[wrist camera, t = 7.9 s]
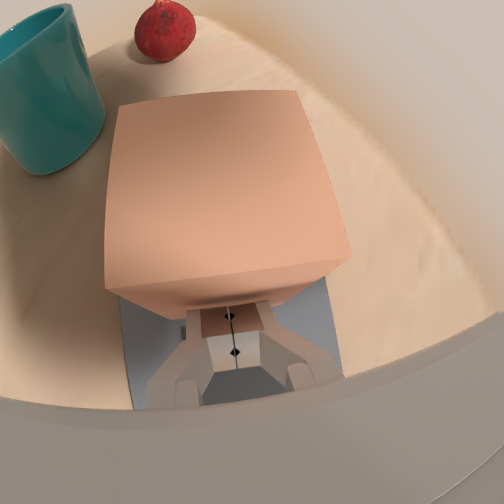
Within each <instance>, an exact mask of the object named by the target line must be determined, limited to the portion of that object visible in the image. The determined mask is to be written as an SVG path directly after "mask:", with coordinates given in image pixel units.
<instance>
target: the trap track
mask: <svg viewBox="0 0 504 504" xmlns="http://www.w3.org/2000/svg"><path fill="white" fill-rule="evenodd" d="M119 304H120V317H121V327H122V337H123V345H124V353H125V360H126V367H127V373H128V379H129V385H130V390H131V396H132V401H133V406H134V410H142V409H145V406H146V392H147V382H148V381H149V379H150V378H151V377H152V376H153V375H154V373H155V372H156V371H157V370H158V369H159V368H160V366H161V365H162V364H163V363H164V362H165V360H166V359H167V358H168V357H169V356H170V355H171V353H172V352H173V351H174V350H175V349H176V347H177V346H178V345H179V344H180V343H181V342H182V341H183V340H186V318H185V319H176V320H169V319H167V318H165V317H163V316H161V315H158V314H156V313H154V312H152V311H150V310H147V309H145V308H143V307H141V306H139V305H137V304H135V303H133V302H131V301H129V300H127V299H125V298H123V297H121V296H119ZM271 308H272V310H273V313H274V315H275V317H276V320H277V322H278V325H279V327H282V326H283V327H285V328H287V329H289V330H290V331H292V332H294V333H295V334H297V335H299V336H301V337H302V338H304V339H306V340H308V341H309V342H311V343H313V344H315V345H317V346H318V347H320V348H322V349H324V350H326V351H327V352H329V353H331V354H332V355H333V356H334V358H335V360H336V362H337V364H338V366H339V368H340V369H341V371H342V366H341V360H340V354H339V348H338V342H337V337H336V331H335V326H334V320H333V315H332V310H331V305H330V300H329V295H328V291H327V286H326V281H325V277H324V276H323V277H322V278H320V279H319V280H317V281H316V282H315V283H313V284H312V285H310V286H309V287H307V288H306V289H304V290H303V291H301V292H300V293H298V294H297V295H295V296H294V297H292V298H291V299H289V300H288V301H286V302H285V303H283V304H281V305H278V306H272V307H271ZM228 317H229V313H228ZM229 321H230V318H229ZM233 349H234V348H233ZM234 355H235V350H234ZM235 362H236V369H232V370H226V371H220V372H214V375H213V376H212V378H211V380H210V382H209V384H208V386H207V387H206V389H205V391H204V393H203V395H202V400H203V403H204V406H206V405H214V404H223V403H230V402H237V401H243V400H250V399H256V398H261V397H267V396H272V395H277V394H282V393H285V387H284V386H283V385H282V384H281V383H280V382H278V381H277V380H276V379H275V378H274V377H272V376H271V375H270V374H269V373H268V372H267V371H266V370H264V369H263V368H262V367H261V365H260V366H253V367H246V368H238V366H237V361H236V357H235Z"/></svg>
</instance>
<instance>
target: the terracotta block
mask: <svg viewBox="0 0 504 504" xmlns="http://www.w3.org/2000/svg"><path fill="white" fill-rule="evenodd" d="M350 257H352V255H351V251H350V247H349V243H348V240H347V236H346V232H345V229H344V225H343V222H342V218H341V215H340V211H339V208H338V205H337V201H336V198H335V195H334V192H333V189H332V186H331V182H330V179H329V176H328V173H327V170H326V167H325V165H324V162H323V159H322V156H321V153H320V150H319V148H318V145H317V142H316V139H315V137H314V134H313V131H312V129H311V126H310V124H309V121H308V119H307V116H306V114H305V111H304V109H303V106H302V104H301V101H300V99H299V97H298V94H297V92H296V91H289V90H246V91H224V92H210V93H199V94H189V95H181V96H173V97H166V98H159V99H153V100H147V101H142V102H136V103H131V104H126V105H122V106H119V110H118V115H117V120H116V126H115V132H114V138H113V144H112V151H111V158H110V166H109V175H108V185H107V196H106V211H105V233H104V280H105V289H107V290H109V291H111V292H113V293H115V294H117V295H119V296H121V297H123V298H125V299H127V300H129V301H131V302H133V303H135V304H137V305H139V306H141V307H143V308H145V309H147V310H150V311H152V312H154V313H156V314H158V315H161V316H163V317H165V318H167V319H169V320H176V319H185V318H186V311H187V310H195V309H203V308H213V307H222V306H227V310H228V306H232V305H239V304H246V303H252V302H256V301H262V300H268V301H269V303H270V305H271V307H272V306H278V305H281V304H283V303H285V302H286V301H288V300H289V299H291V298H292V297H294V296H295V295H297V294H298V293H300V292H301V291H303V290H304V289H306V288H307V287H309V286H310V285H312V284H313V283H315V282H316V281H317V280H319V279H320V278H322V277H323V276H325V275H326V274H328V273H329V272H330V271H332V270H333V269H335V268H336V267H338V266H339V265H340V264H342V263H343V262H345V261H346V260H347V259H349V258H350ZM228 313H229V312H228Z"/></svg>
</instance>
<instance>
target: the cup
mask: <svg viewBox="0 0 504 504" xmlns="http://www.w3.org/2000/svg"><path fill="white" fill-rule="evenodd" d="M105 114H106V112H105V106H104V103H103V100H102V97H101V95H100V92H99V89H98V86H97V84H96V81H95V78H94V75H93V72H92V69H91V67H90V64H89V61H88V58H87V55H86V52H85V48H84V45H83V42H82V39H81V35H80V32H79V29H78V26H77V22H76V18H75V15H74V11H73V7H72V5H70V4H66V3H65V4H59V5H55V6H52V7H49V8H46V9H44V10H41V11H39V12H37V13H35V14H33V15H31V16H29V17H27V18H26V19H24V20H22V21H21V22H19V23H18V24H16V25H15V26H13V27H12V28H10V29H9V30H7V31H6V32H5V33H3V34H2V35H1V36H0V143H1V144H2V145H3V146H4V148H5V149H6V150H7V151H8V152H9V153H10V155H11V156H12V157H13V158H14V159H15V161H16V162H17V163H18V164H19V165H20V166H21V167H22V168H23V169H24V170H25V171H26V172H28V173H30V174H33V175H47V174H51V173H54V172H57V171H59V170H61V169H63V168H65V167H66V166H68V165H70V164H71V163H73V162H74V161H75V160H77V159H78V158H79V157H80V156H81V155H82V154H83V153H84V152H85V151H86V150H87V149H88V148H89V147H90V146H91V145H92V144H93V142H94V141H95V140H96V138H97V137H98V135H99V133H100V131H101V129H102V127H103V124H104V121H105Z"/></svg>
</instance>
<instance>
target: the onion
mask: <svg viewBox="0 0 504 504" xmlns="http://www.w3.org/2000/svg"><path fill="white" fill-rule="evenodd" d="M195 34H196V24H195V20H194V17H193V15H192V14H191V12H190V11H189V10H188V9H187V8H185V7H184V6H182V5H181V4H179V3H176V2H173V1H171V0H156V1H155V3H154V5H153V6H151V7H150V8H148V9H147V10H146V11H145V12H144V13H143V14H142V16H141V17H140V18H139V20H138V23H137V25H136V27H135V32H134V35H135V42H136V44H137V47H138V48H139V50H140V51H141V52H142V53H143V54H144V55H146V56H148V57H150V58H152V59H155V60H161V61H170V60H172V59H173V58H175V57H177V56H178V55H180V54H181V53H182V52H184V51H185V50H186V49H187V48H188V47H189V45H190V44H191V42H192V41H193V40H194V38H195Z"/></svg>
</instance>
